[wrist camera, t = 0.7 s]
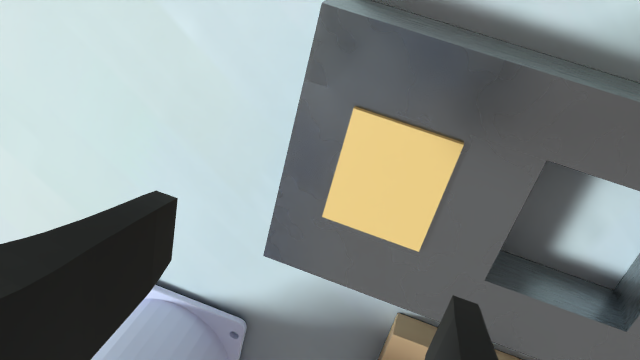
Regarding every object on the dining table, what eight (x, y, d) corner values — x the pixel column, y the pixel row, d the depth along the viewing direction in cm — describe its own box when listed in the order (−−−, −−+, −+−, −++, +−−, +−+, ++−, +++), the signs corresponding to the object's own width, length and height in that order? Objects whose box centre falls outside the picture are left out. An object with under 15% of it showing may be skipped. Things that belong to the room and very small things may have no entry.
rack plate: (645, 358, 24) (661, 409, 22) (282, 225, 26) (261, 258, 24) (822, 139, 18) (869, 175, 16) (340, -10, 20) (320, 3, 18)
